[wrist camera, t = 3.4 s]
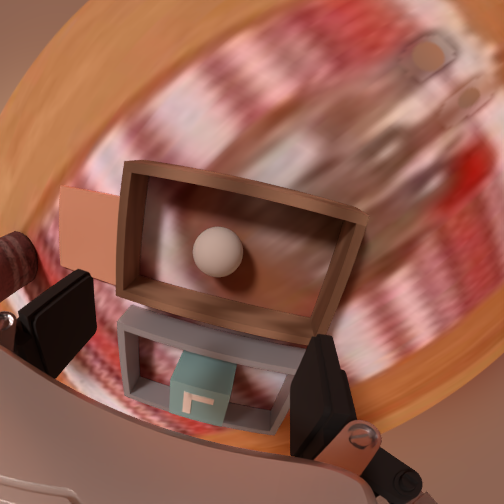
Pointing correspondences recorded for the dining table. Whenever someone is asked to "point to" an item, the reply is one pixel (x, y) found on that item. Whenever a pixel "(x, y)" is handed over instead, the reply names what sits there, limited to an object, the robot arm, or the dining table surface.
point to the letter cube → (201, 388)
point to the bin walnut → (217, 307)
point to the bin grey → (211, 346)
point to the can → (16, 263)
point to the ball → (218, 252)
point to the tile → (88, 231)
